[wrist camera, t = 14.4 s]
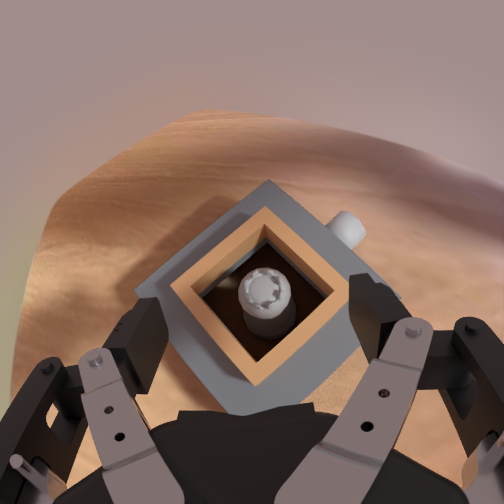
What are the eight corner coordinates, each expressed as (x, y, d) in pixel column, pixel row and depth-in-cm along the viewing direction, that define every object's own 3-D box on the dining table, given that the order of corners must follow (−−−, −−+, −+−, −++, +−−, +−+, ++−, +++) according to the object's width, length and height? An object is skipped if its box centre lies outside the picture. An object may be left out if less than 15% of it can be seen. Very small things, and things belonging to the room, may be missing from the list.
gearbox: (293, 192, 30) (294, 144, 23) (401, 289, 24) (434, 259, 18) (158, 305, 26) (121, 282, 20) (260, 428, 21) (250, 447, 15)
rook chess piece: (260, 280, 26) (249, 241, 19) (306, 304, 25) (314, 272, 18) (234, 324, 25) (211, 302, 18) (280, 350, 24) (277, 339, 16)
